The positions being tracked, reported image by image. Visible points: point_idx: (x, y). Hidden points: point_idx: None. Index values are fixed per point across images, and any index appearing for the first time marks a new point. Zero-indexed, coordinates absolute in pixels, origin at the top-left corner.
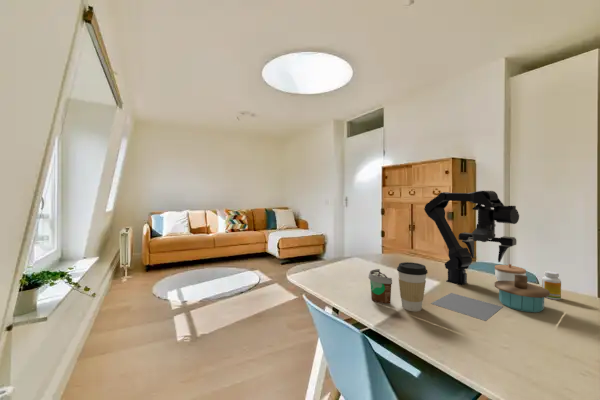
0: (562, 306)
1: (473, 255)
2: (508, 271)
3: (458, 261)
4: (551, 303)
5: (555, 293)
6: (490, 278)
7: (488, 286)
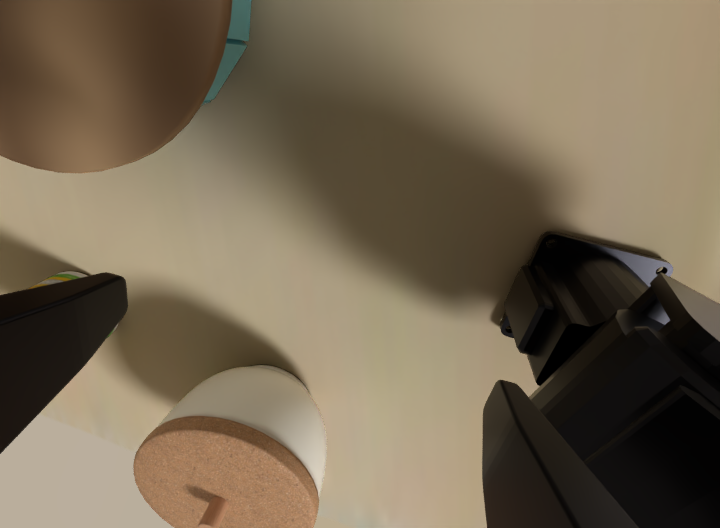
0: (6, 174)
1: (495, 428)
2: (214, 425)
3: (704, 327)
4: (53, 194)
5: (29, 288)
6: (370, 474)
7: (366, 323)
